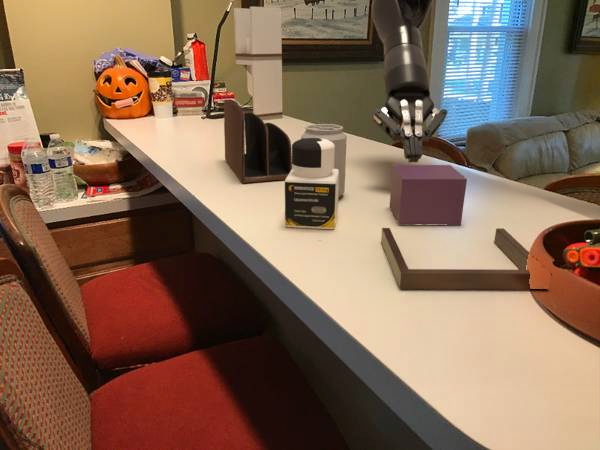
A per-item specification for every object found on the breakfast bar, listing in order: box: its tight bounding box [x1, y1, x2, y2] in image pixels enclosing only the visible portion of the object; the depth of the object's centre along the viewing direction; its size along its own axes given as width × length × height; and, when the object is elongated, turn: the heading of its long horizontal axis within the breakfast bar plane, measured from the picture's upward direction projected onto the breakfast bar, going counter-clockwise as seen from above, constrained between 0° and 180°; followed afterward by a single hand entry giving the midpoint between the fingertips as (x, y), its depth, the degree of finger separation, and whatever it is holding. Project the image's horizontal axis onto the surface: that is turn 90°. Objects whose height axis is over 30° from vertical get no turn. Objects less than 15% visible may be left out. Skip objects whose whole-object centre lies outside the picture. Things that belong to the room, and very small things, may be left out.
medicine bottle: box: [284, 138, 339, 230], centre depth 68 cm, size 7×7×12 cm
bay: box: [380, 227, 531, 291], centre depth 56 cm, size 16×13×2 cm
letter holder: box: [223, 98, 292, 185], centre depth 95 cm, size 10×20×14 cm, turn 18°
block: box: [389, 164, 468, 226], centre depth 71 cm, size 9×8×7 cm
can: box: [300, 123, 348, 199], centre depth 79 cm, size 8×8×12 cm
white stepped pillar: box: [233, 6, 283, 121], centre depth 159 cm, size 11×11×35 cm
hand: (414, 159), depth 78 cm, fingers closed
